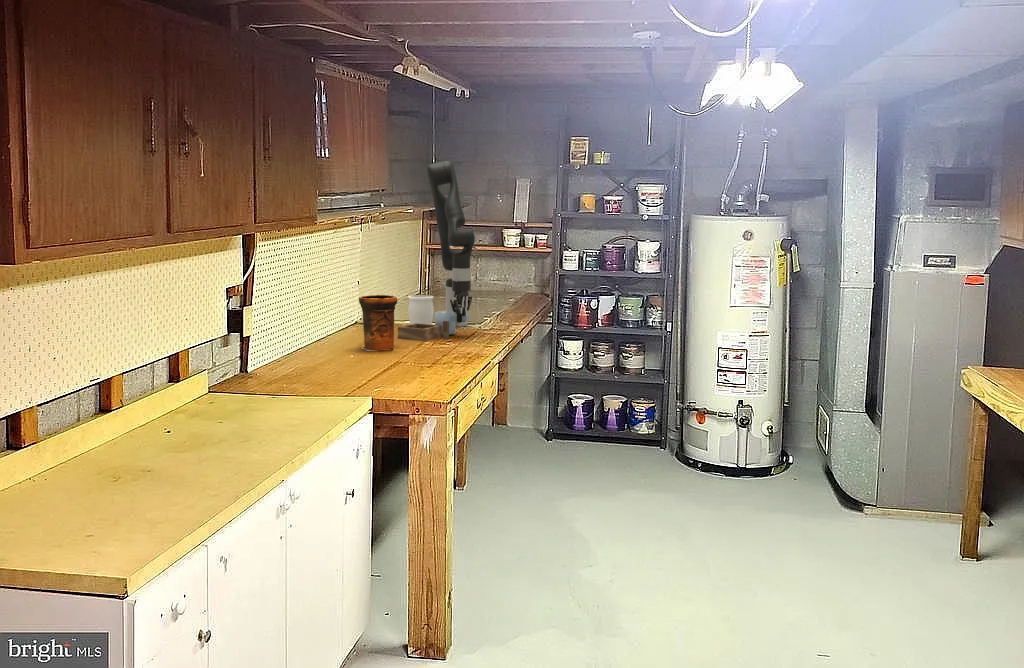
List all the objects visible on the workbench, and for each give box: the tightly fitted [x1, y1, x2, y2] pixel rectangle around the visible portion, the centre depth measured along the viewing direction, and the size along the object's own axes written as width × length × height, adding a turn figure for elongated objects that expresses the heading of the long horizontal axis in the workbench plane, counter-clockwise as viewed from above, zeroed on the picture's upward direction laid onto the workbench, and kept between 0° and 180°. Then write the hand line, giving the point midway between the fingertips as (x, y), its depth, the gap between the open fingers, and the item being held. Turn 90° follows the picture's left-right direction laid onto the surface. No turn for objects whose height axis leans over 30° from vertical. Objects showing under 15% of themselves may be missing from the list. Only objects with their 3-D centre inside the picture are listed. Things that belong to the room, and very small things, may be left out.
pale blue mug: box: [433, 310, 470, 336], centre depth 401 cm, size 15×8×9 cm, turn 61°
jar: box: [407, 294, 435, 325], centre depth 415 cm, size 11×10×15 cm
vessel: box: [358, 294, 398, 352], centre depth 372 cm, size 14×14×20 cm
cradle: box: [396, 321, 450, 342], centre depth 394 cm, size 14×19×8 cm
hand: (461, 321), depth 398 cm, fingers closed on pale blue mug
